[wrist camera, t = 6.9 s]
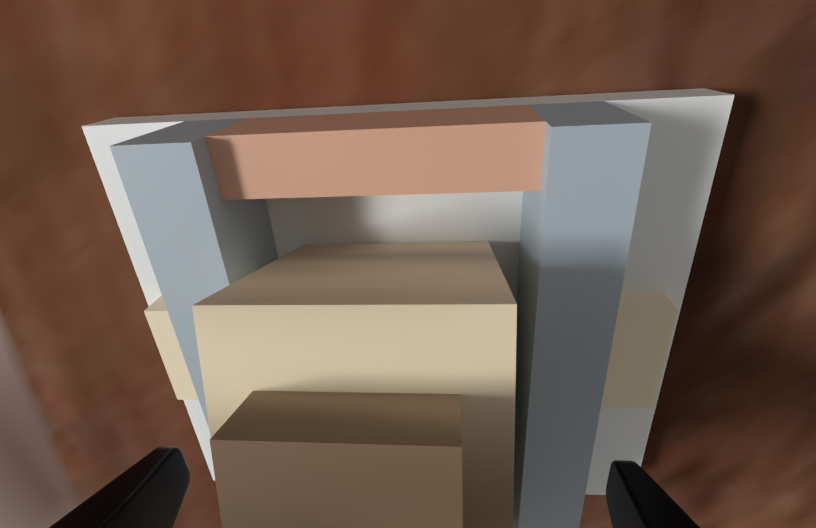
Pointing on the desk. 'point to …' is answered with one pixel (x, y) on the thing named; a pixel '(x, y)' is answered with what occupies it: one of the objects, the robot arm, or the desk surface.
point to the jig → (449, 238)
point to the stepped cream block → (363, 388)
